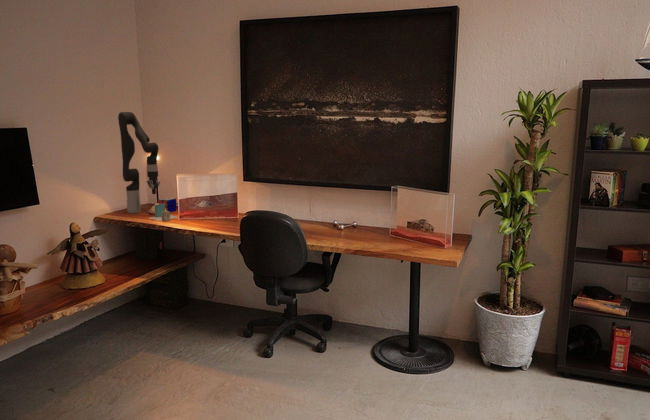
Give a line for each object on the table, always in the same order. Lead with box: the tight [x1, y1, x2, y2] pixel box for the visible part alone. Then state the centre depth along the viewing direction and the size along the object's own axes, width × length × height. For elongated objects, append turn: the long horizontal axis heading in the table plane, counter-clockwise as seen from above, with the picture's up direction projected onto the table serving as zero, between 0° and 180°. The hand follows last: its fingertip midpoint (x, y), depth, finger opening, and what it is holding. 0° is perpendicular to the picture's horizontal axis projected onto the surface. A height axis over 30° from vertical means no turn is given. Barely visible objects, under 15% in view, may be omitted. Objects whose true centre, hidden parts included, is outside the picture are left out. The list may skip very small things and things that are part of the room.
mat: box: [148, 214, 178, 222], centre depth 378 cm, size 16×16×1 cm
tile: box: [153, 203, 165, 217], centre depth 381 cm, size 2×8×9 cm, turn 143°
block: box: [161, 211, 171, 222], centre depth 367 cm, size 4×4×7 cm
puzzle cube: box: [157, 197, 178, 213], centre depth 400 cm, size 10×10×10 cm
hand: (154, 193), depth 382 cm, fingers closed
